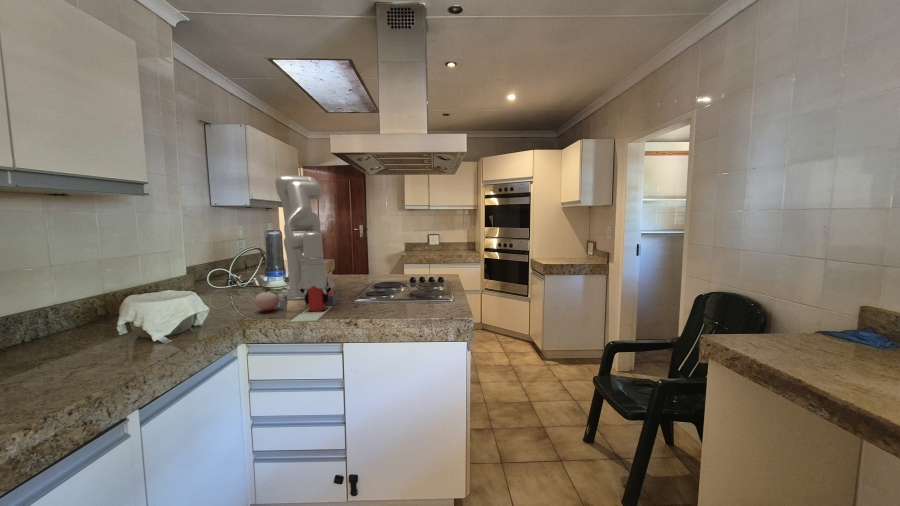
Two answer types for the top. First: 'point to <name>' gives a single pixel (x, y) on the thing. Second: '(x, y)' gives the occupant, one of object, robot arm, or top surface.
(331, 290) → the dome
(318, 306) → the beer can
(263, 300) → the decorative fruit
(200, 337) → the top surface
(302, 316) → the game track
